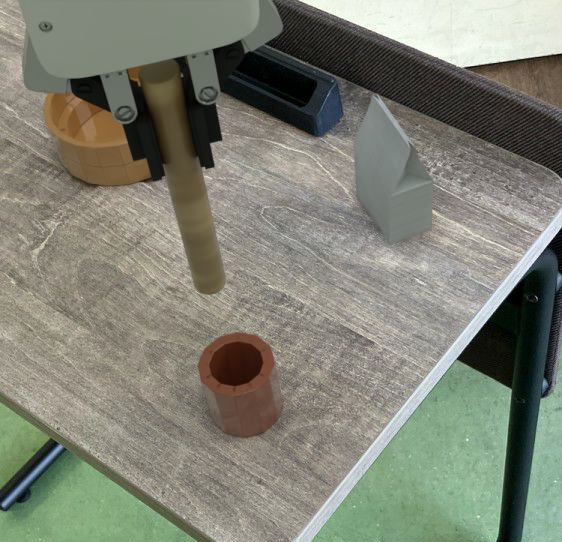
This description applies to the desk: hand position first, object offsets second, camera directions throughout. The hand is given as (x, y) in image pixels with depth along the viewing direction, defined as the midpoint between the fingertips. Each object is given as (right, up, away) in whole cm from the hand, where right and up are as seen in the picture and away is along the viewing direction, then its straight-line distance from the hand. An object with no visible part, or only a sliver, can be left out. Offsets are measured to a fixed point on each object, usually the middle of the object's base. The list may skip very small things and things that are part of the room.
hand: (178, 154), depth 50 cm
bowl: (-9, +10, +38) cm, 40 cm away
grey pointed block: (+15, +2, +30) cm, 33 cm away
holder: (+3, -14, +20) cm, 25 cm away
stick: (+1, -6, +9) cm, 11 cm away
